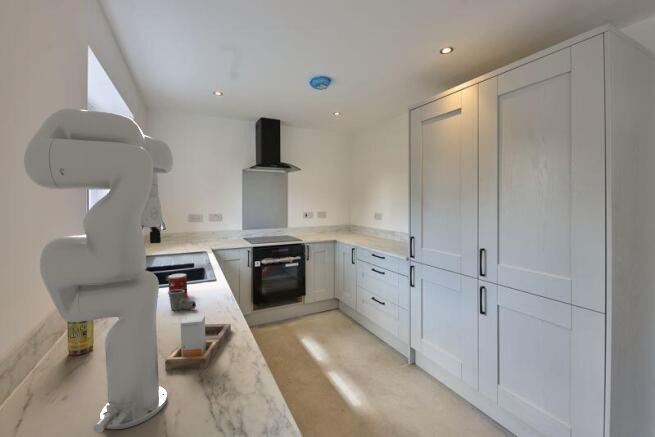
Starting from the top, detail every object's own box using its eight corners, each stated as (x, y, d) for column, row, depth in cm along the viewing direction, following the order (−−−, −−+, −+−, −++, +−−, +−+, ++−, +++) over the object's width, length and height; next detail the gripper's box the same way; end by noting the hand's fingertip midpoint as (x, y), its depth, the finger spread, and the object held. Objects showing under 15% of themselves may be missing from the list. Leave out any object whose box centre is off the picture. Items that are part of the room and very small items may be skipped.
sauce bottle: (63, 357, 87) (58, 293, 86) (76, 347, 93) (72, 287, 92) (87, 355, 88) (83, 291, 87) (99, 345, 94) (96, 286, 93)
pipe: (189, 313, 122) (188, 294, 121) (164, 310, 125) (163, 292, 124) (199, 307, 127) (198, 290, 127) (175, 305, 131) (174, 288, 130)
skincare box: (181, 363, 83) (179, 323, 83) (185, 355, 88) (183, 317, 87) (203, 360, 85) (202, 321, 84) (206, 353, 89) (205, 315, 88)
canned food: (169, 296, 144) (168, 274, 143) (187, 293, 147) (186, 272, 146) (168, 300, 137) (167, 278, 136) (187, 298, 140) (186, 276, 139)
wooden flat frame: (205, 368, 81) (205, 359, 80) (165, 370, 80) (165, 360, 80) (230, 330, 104) (230, 322, 104) (200, 331, 104) (199, 323, 104)
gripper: (139, 189, 81) (142, 249, 82) (170, 191, 98) (172, 241, 99) (112, 190, 81) (115, 250, 82) (148, 192, 98) (150, 241, 99)
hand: (146, 245), depth 91 cm, fingers open, 9 cm apart
